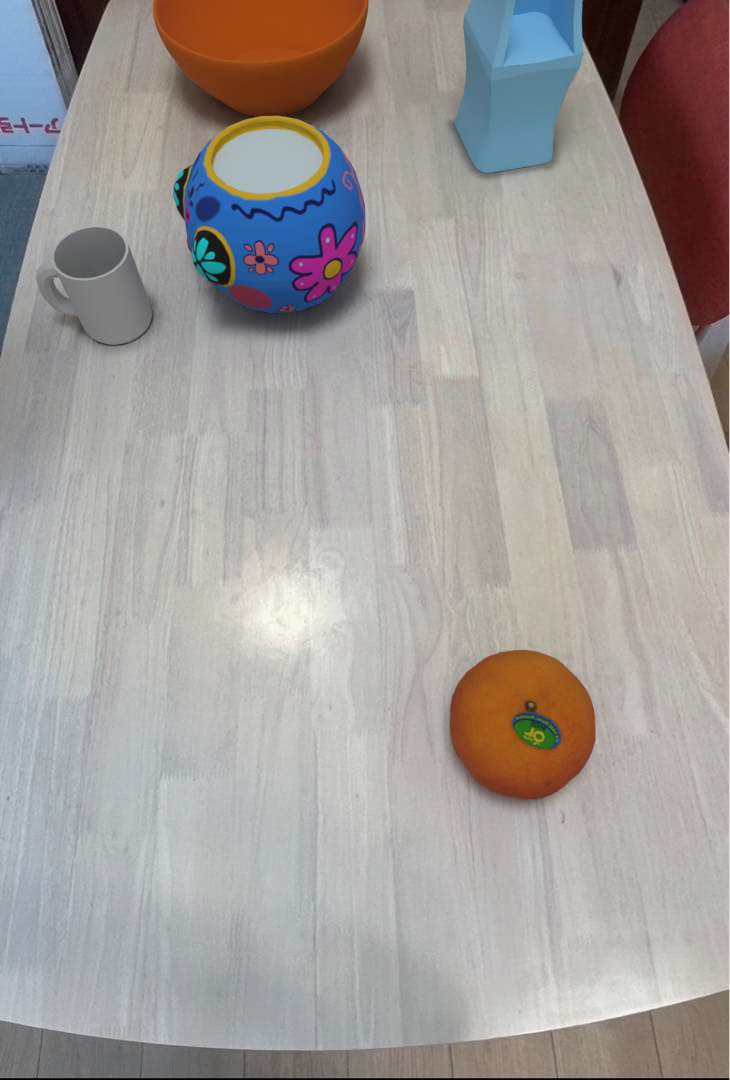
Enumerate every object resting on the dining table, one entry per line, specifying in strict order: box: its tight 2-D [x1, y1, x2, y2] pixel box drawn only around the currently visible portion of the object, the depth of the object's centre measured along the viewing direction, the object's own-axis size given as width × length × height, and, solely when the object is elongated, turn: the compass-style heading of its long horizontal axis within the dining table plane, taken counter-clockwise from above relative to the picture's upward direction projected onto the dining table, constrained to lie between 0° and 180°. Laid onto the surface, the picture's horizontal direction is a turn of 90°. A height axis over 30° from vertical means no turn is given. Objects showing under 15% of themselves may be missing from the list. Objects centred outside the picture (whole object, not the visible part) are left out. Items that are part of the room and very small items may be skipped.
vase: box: [453, 0, 584, 174], centre depth 79 cm, size 10×10×25 cm
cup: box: [35, 224, 153, 346], centre depth 74 cm, size 7×10×9 cm
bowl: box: [152, 0, 369, 117], centre depth 92 cm, size 25×25×10 cm
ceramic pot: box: [172, 116, 367, 314], centre depth 74 cm, size 18×18×15 cm
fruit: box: [449, 649, 597, 801], centre depth 55 cm, size 11×10×8 cm
